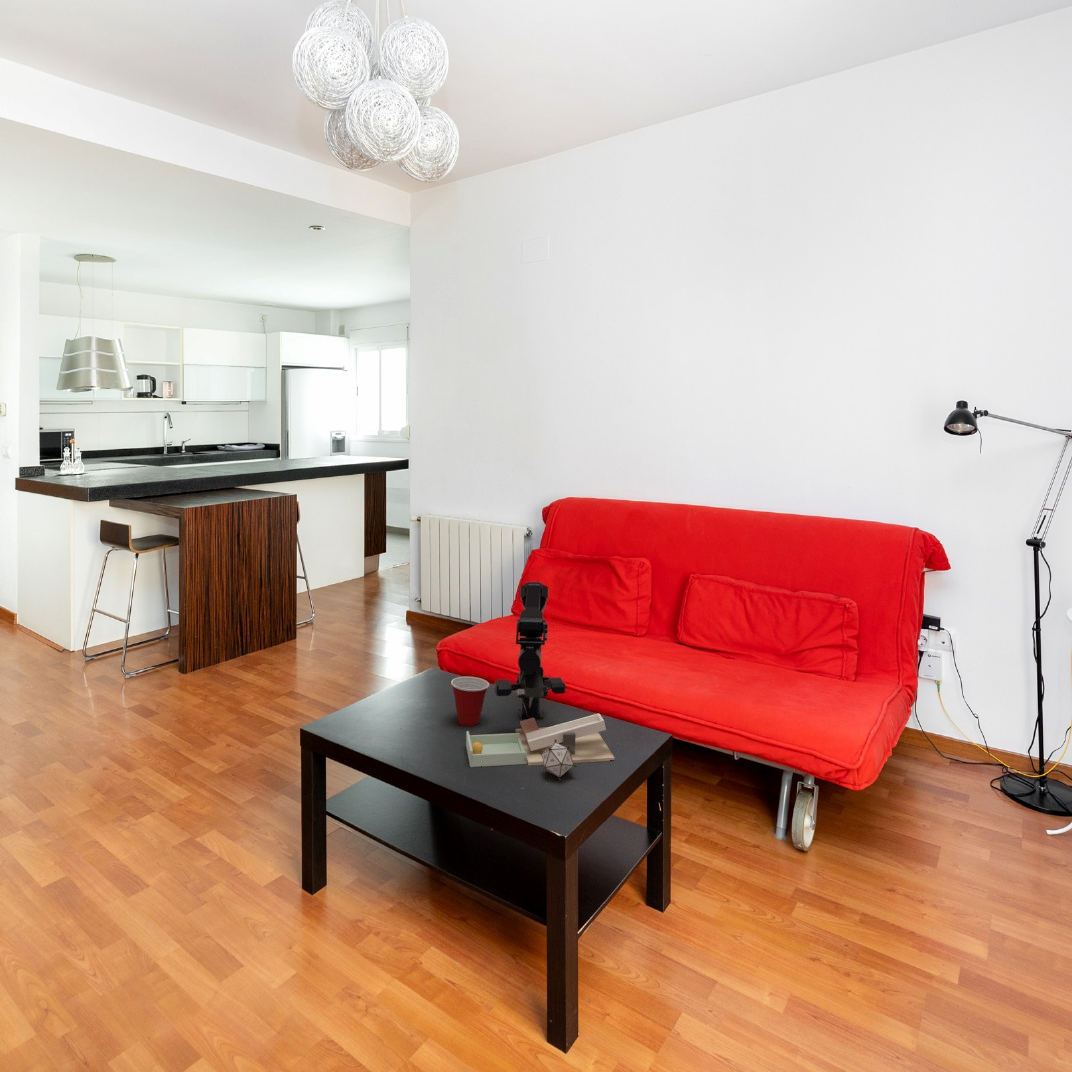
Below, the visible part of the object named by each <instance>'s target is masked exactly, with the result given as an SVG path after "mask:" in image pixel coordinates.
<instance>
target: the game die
mask: <svg viewBox="0 0 1072 1072" xmlns="http://www.w3.org/2000/svg"><path fill="white" fill-rule="evenodd" d="M554 741H555V743H554V744H553V745H552V746H550V747H549V748H548V749H547V750H545V751H544V752H543V753H540V752H539V755H542V759H543V763H544V765H543V767H542V768H541V769H542V770H545V772H544V773H545V774H548V773H549V774H552V775H554V776H555V777H557V778H558V781H559V782H561V780H562V779H561V777H562V776H563V775H565V774H566V773H567V772H568V771H570V770H571V769H572V768H578V766H577V764H575V763H573V760H572V757H571V752H572V750H571V751H569V748H570V746H568V748H567V747H565V746H563V745H561V744H558V743H556V742H557V741H556V739H555V740H554Z"/></svg>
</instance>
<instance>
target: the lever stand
mask: <svg viewBox="0 0 1072 1072" xmlns="http://www.w3.org/2000/svg"><path fill="white" fill-rule="evenodd" d="M562 723H563V722H562ZM562 723H557V725H559V724H562ZM548 727H549V726H545V727H538V728H539V730H541V729H544V728H548ZM515 733H520V740H521V743H522V746H523V748H524V751H526V752H527V766H541V765H542V766H544V763H543V759H542V755H539V752H540V753H543V752H544V751H545V750H547V749H548V748H549V747H550V746H547V747H543V748H540V749H536V750H533V751H531V750H530V747H529V745H528V742H527V739H526V737H525V734H524V732H523V729H522V728H515ZM575 736H576V735H575V733H567V734H563V742H561V743H558V744H561V745H563V746H565V747H567V748H568V746H570V748H569V751H571V750H572V752H571V757H572V760H573V764H579V763H596V762H597V763H599V762H611V761H610V760H614V761H615V756H614V753H612V751H611V749H610V748H609V747H608V745H607V744H606V742H605V740H604V739H603V738H602V736H601V734H600V733H599V732H597V733H593V734H590V735H586V736H582V737H579V738H575ZM551 746H552V745H551Z"/></svg>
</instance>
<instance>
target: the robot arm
mask: <svg viewBox="0 0 1072 1072" xmlns="http://www.w3.org/2000/svg"><path fill="white" fill-rule="evenodd" d="M519 586H520V588H519V590H520V593H519V598H520V599H519V600H520V601H522V608H523V610H521V612H519V618H518V619H516V632H515V633H516V636H515V645H519V654H518V660H517V664H518V667H519V674H518V676H517V675H516V682H514V683H512V682H511V681H510V678H508V679H506V678H505V679H496V680H495V681H494V686H493V687H494V688H493V689H494V690H493V691H494V692H495V696H497V697H508V696H510V695H511V694H512V692H513V691H514V692H515V694H516V696H515V697H516V698H518V699H521V700H520V702H521V703H520V709H518V711H517V712H518V715H519V717H520V720H521V721H523V720H527V719H531V718H534V719H535V720H537V719H538V720H543V719H544V715H543V713H542V708H541V706H542V705H541V704H542V698H543V699H546V698H547V697H548V696H549V695H548V694H549V691H551V692H552V693H553V694H554V695H558V694H559V695H562V694H563V695H564V694H566V693H567V691H566V688H567V687H566V686H567V685H566V683H565V682H564V680H563V679H562V678H561V677H551V676H544V675H545V674H544V672H545V671H544V669H543V666H542V646H545V644H546V641H547V642H548V628H549V626H548V623H547V621H546V619H544V611H545V610H546V608H547V607H546V605H547V602H548V601H549V586H547V585H544V583H543V582H540V581H527V582H525V584H521V585H519Z"/></svg>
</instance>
